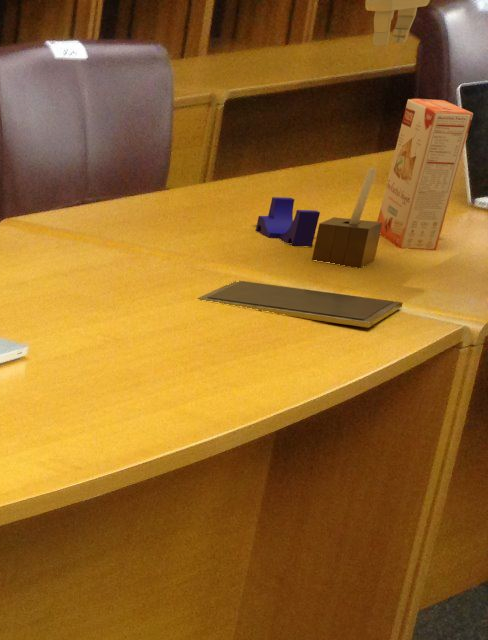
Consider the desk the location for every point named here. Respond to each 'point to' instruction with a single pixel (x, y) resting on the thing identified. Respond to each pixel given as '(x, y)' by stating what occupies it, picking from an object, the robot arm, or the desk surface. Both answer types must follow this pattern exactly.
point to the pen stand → (347, 242)
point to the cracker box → (423, 172)
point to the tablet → (305, 303)
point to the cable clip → (288, 223)
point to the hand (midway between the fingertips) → (389, 44)
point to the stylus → (363, 196)
